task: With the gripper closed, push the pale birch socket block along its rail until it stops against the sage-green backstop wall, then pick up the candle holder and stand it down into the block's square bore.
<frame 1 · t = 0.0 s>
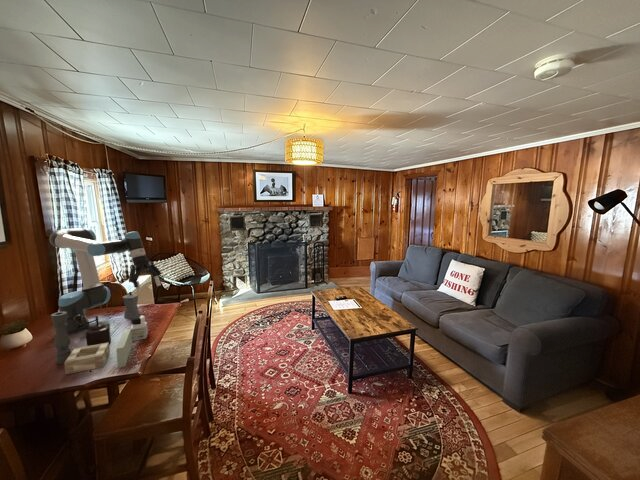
hand: (149, 288, 166), 28 cm above the table, tool tilted 20°, fingers open, 13 cm apart
candle holder: (64, 360, 137), on the table
backstop wall: (125, 355, 141), on the table
socket block: (88, 357, 134), point 3 cm above the table, slide at 0.0 cm
coffeepot: (131, 315, 193), on the table
container: (139, 337, 162), on the table
dark boxy piece: (93, 344, 152), on the table
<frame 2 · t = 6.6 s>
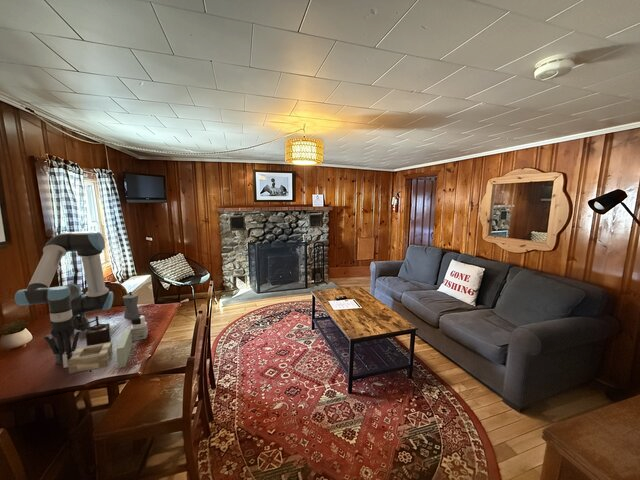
hand: (66, 365, 129), 2 cm above the table, tool pointing down, fingers closed
socket block: (91, 356, 135), point 3 cm above the table, slide at 1.3 cm, touching gripper
everything else where it was.
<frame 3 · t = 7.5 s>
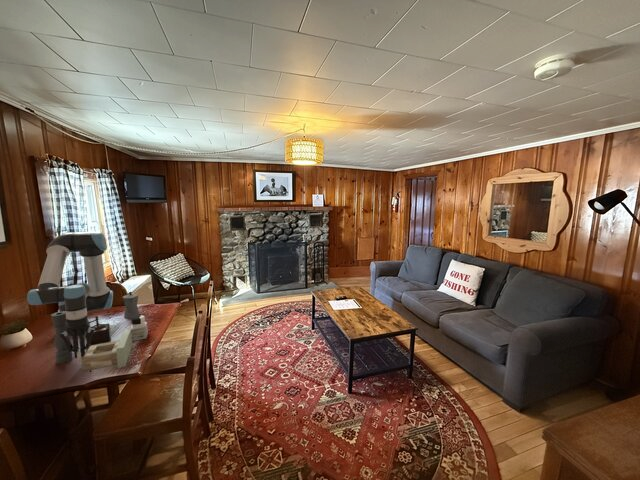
hand: (80, 363, 131), 2 cm above the table, tool pointing down, fingers closed
socket block: (104, 354, 137), point 3 cm above the table, slide at 6.4 cm, touching gripper
everything else where it was.
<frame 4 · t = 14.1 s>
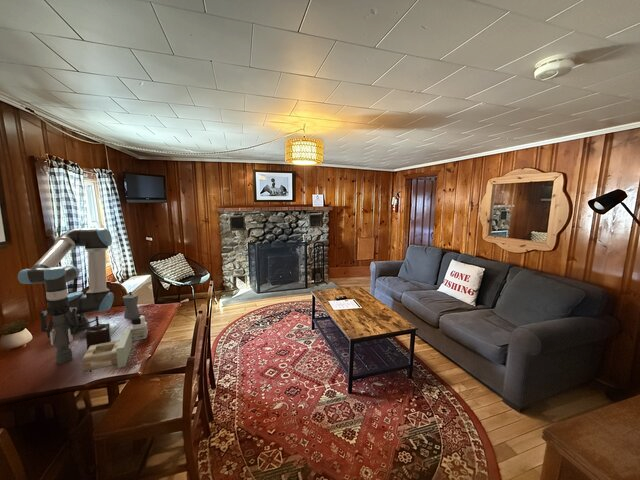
hand: (62, 341, 136), 10 cm above the table, tool pointing down, fingers closed on candle holder, 6 cm apart
candle holder: (64, 360, 137), on the table, touching gripper
socket block: (104, 354, 137), point 3 cm above the table, slide at 6.3 cm
everything else where it was.
when the fingers open (12 cm above the table, at t = 20.8 s): candle holder drops 2 cm, resting in socket block.
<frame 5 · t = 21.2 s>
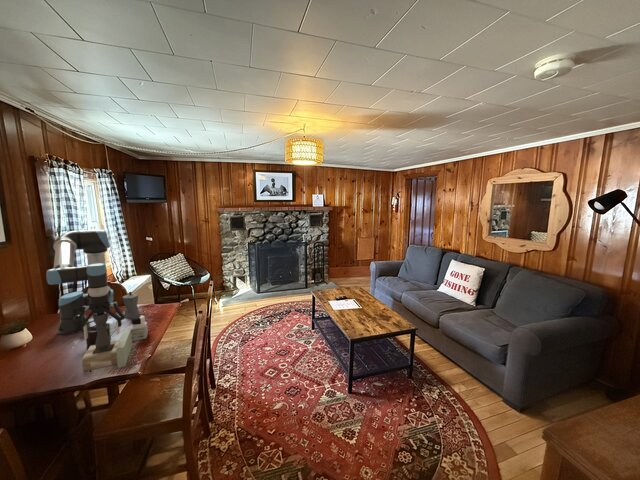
hand: (102, 335, 136), 13 cm above the table, tool pointing down, fingers open, 12 cm apart
candle holder: (104, 360, 137), resting in socket block
everything else where it was.
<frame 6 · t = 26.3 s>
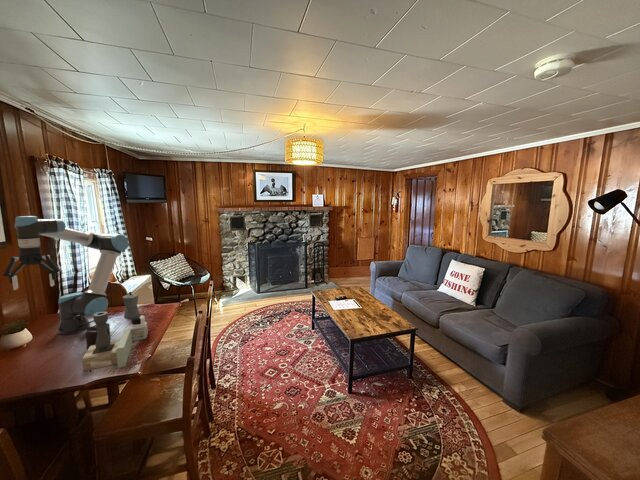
hand: (34, 287, 137), 37 cm above the table, tool pointing down, fingers open, 13 cm apart
nothing on the table moved.
at the end: socket block slide at 6.3 cm; candle holder 0.1 cm off-centre on the socket block, point 0.0 cm above the socket block's base; candle holder tilted 0° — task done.
